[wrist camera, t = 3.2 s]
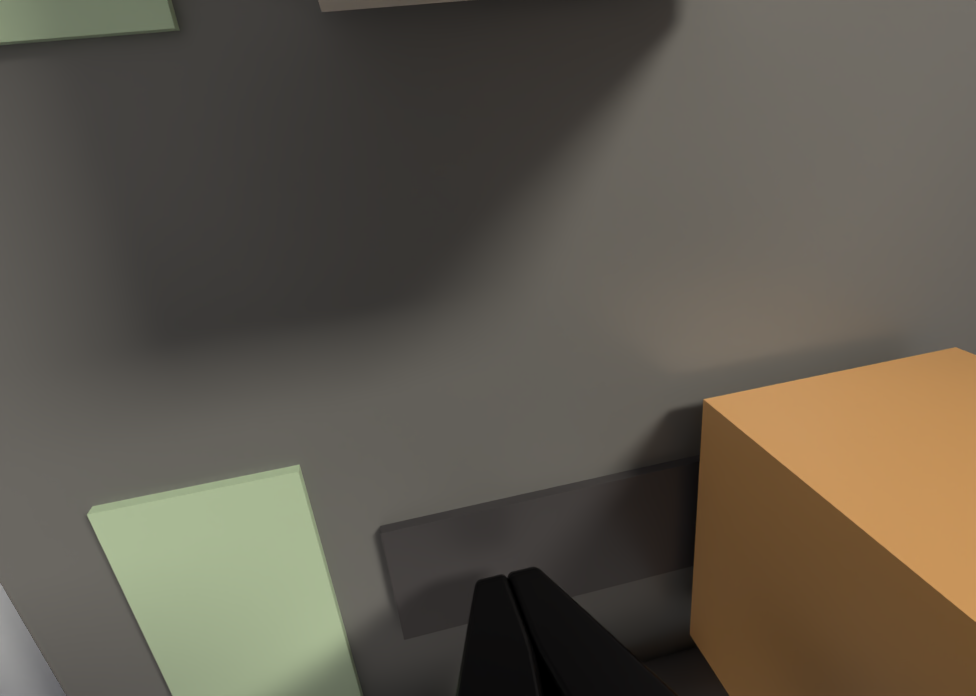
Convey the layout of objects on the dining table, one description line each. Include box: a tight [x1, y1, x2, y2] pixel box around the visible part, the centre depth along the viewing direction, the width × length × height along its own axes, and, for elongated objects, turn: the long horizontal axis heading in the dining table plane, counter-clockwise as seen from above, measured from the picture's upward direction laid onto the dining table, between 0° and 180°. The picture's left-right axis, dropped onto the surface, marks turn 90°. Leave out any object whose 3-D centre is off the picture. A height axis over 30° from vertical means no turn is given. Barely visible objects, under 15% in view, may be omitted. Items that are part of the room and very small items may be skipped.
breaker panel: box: [0, 0, 976, 696], centre depth 8 cm, size 22×18×2 cm
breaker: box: [690, 347, 976, 696], centre depth 7 cm, size 4×4×4 cm
